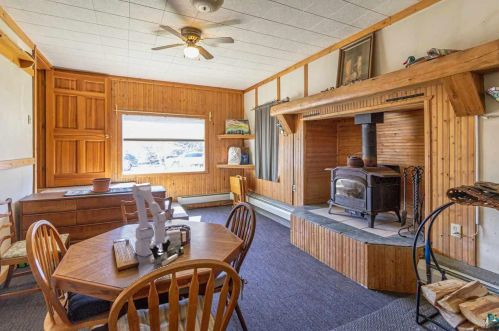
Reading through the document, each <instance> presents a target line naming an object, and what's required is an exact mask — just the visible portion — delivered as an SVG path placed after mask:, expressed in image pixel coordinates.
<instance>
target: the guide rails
mask: <svg viewBox="0 0 499 331" xmlns="http://www.w3.org/2000/svg"><path fill="white" fill-rule="evenodd" d="M178 256H179V255H178V254H175V255H170V257H167V259H166V260H164V261H162V264H161V266H163V267H164V266H167V264H169V263H170V262H172V261H174V260H176V259H178ZM149 260H150V261H149V262H150V263H151V264H154V257H151V258H150V259H149Z"/></svg>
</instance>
